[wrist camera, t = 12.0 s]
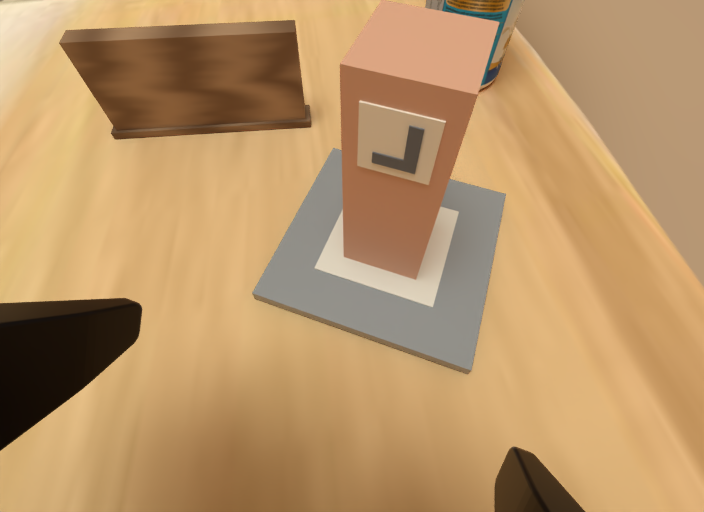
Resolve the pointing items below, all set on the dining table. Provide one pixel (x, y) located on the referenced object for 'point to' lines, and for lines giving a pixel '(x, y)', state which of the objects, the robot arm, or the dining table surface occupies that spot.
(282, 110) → the screen
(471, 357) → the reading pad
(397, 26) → the lettered block
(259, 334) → the dining table surface
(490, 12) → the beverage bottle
